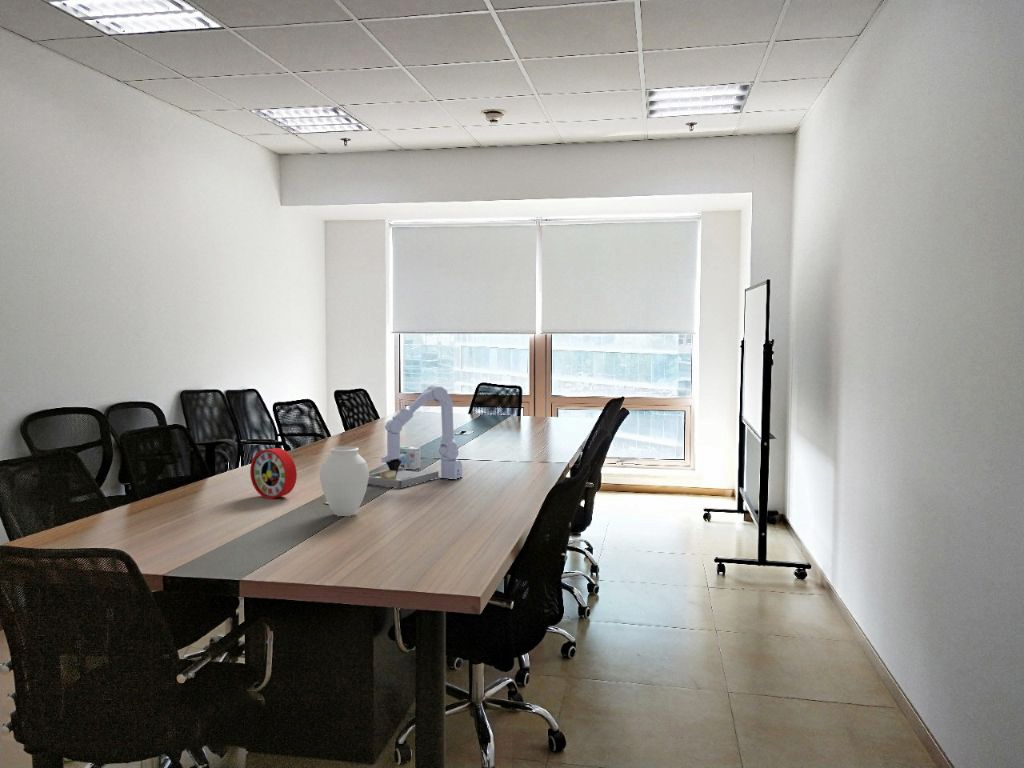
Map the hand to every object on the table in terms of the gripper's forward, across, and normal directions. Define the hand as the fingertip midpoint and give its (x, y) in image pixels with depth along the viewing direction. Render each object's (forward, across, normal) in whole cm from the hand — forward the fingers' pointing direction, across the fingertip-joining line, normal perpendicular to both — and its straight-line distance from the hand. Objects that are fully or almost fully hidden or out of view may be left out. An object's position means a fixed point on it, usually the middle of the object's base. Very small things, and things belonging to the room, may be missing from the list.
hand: (393, 476), depth 348 cm
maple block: (+1, +4, 0) cm, 4 cm away
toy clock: (+3, +50, -22) cm, 55 cm away
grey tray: (+3, -5, 0) cm, 6 cm away
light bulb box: (+3, -33, -18) cm, 38 cm away
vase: (+3, +57, +24) cm, 62 cm away
